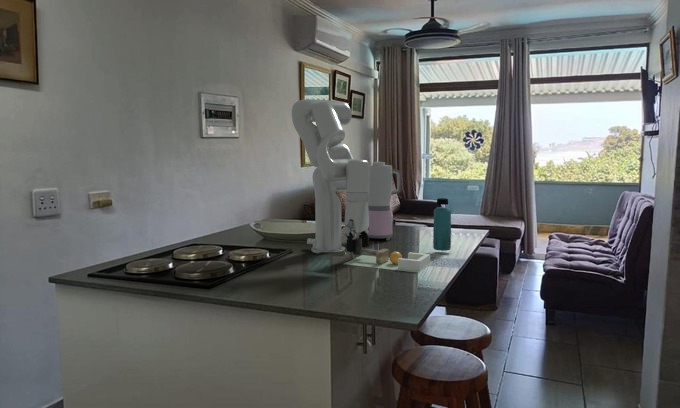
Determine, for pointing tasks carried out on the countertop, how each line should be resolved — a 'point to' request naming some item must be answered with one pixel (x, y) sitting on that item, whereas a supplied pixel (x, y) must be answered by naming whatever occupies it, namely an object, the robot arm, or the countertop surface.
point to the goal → (414, 261)
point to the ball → (395, 257)
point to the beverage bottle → (442, 226)
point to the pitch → (371, 262)
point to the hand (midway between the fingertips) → (357, 249)
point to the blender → (381, 200)
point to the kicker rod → (372, 252)
